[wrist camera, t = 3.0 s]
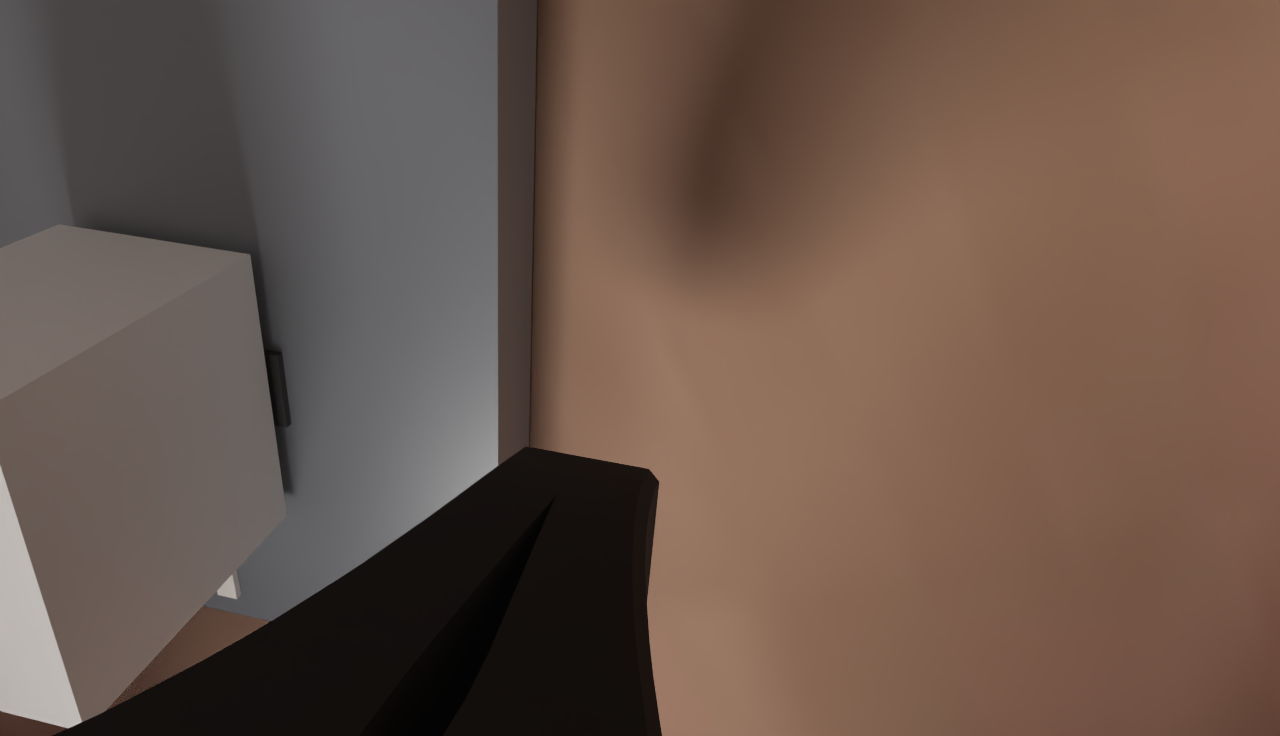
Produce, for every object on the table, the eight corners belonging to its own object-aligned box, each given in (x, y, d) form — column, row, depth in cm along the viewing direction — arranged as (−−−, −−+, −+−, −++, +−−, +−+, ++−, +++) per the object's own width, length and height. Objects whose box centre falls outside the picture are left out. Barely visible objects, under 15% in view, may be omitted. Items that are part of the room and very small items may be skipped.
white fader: (287, 515, 12) (78, 741, 8) (121, 481, 12) (-139, 686, 9) (250, 254, 10) (-28, 416, 7) (59, 224, 10) (-288, 364, 7)
